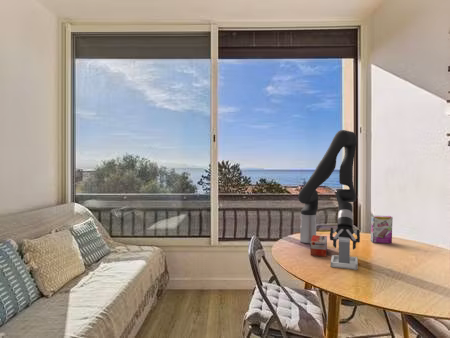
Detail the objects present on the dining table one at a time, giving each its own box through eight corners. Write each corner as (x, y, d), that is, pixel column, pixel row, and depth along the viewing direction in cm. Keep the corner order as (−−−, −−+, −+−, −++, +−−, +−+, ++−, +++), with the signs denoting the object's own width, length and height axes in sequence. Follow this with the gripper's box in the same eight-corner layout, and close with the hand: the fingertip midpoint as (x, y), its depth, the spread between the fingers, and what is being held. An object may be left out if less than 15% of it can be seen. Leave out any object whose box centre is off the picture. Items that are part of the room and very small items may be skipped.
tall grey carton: (338, 264, 160) (338, 239, 159) (339, 260, 165) (339, 236, 165) (349, 265, 158) (349, 240, 158) (349, 261, 163) (349, 237, 163)
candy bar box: (373, 243, 201) (373, 216, 200) (370, 241, 206) (370, 215, 205) (392, 243, 199) (392, 216, 199) (389, 241, 204) (389, 215, 204)
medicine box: (326, 257, 173) (326, 242, 173) (310, 255, 176) (310, 241, 176) (327, 249, 188) (327, 235, 188) (312, 248, 190) (312, 234, 190)
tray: (330, 266, 158) (330, 262, 158) (332, 259, 170) (332, 254, 170) (357, 269, 153) (357, 265, 153) (357, 261, 165) (357, 257, 165)
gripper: (330, 215, 171) (328, 242, 160) (360, 216, 165) (360, 245, 155) (331, 223, 176) (329, 250, 166) (359, 225, 171) (360, 253, 160)
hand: (344, 248), depth 160 cm, fingers open, 8 cm apart
